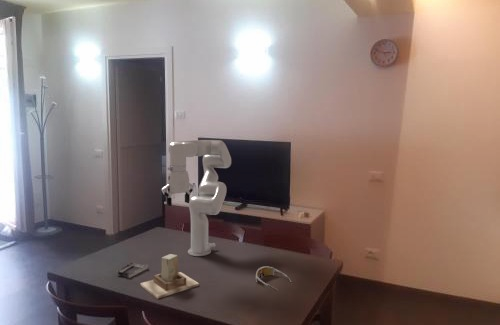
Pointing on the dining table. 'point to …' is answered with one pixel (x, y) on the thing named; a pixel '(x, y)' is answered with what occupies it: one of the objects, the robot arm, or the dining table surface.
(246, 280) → the dining table surface
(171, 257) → the skincare box
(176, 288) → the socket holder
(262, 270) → the sunglasses
